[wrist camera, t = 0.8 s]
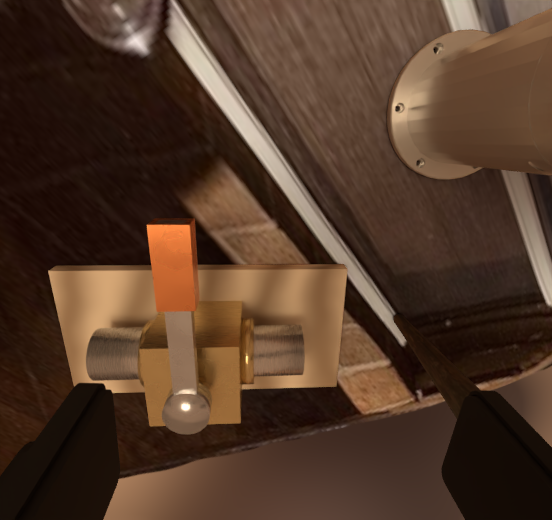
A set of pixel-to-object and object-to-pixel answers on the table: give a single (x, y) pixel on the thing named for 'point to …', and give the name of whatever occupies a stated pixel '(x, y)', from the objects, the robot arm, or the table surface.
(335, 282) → the mounting board
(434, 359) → the decorative torch
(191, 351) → the valve lever
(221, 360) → the valve body
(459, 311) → the table surface
